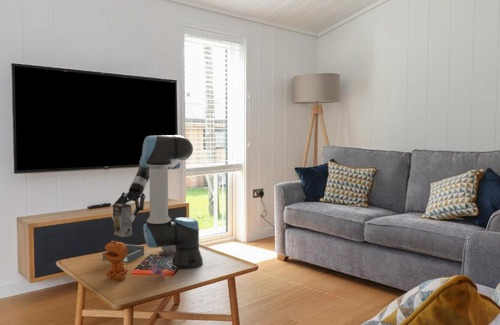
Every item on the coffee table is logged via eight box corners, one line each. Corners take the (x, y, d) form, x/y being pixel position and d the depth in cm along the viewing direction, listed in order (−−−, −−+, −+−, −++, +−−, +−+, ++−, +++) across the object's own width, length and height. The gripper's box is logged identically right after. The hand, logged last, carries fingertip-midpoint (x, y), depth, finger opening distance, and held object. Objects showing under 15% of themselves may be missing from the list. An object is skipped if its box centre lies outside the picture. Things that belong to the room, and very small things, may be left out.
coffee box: (113, 234, 233) (112, 204, 231) (124, 232, 237) (123, 202, 236) (121, 237, 226) (120, 206, 224) (132, 235, 230) (131, 204, 229)
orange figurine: (101, 277, 201) (100, 238, 200) (125, 273, 206) (124, 235, 205) (106, 284, 191) (105, 244, 190) (131, 280, 197) (130, 240, 195)
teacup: (176, 254, 236) (175, 240, 236) (157, 253, 239) (156, 239, 238) (185, 247, 250) (184, 234, 249) (167, 246, 252) (166, 233, 252)
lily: (163, 288, 190) (171, 266, 192) (137, 278, 189) (146, 257, 191) (163, 287, 201) (171, 267, 204) (138, 278, 200) (147, 258, 203)
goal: (144, 255, 236) (143, 245, 236) (128, 262, 223) (128, 252, 223) (118, 252, 241) (118, 243, 241) (102, 259, 228) (102, 250, 228)
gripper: (158, 191, 243) (144, 225, 229) (123, 189, 250) (107, 222, 237) (153, 183, 237) (138, 217, 224) (117, 181, 245) (100, 214, 231)
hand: (122, 219), depth 230 cm, fingers closed on coffee box, 10 cm apart
